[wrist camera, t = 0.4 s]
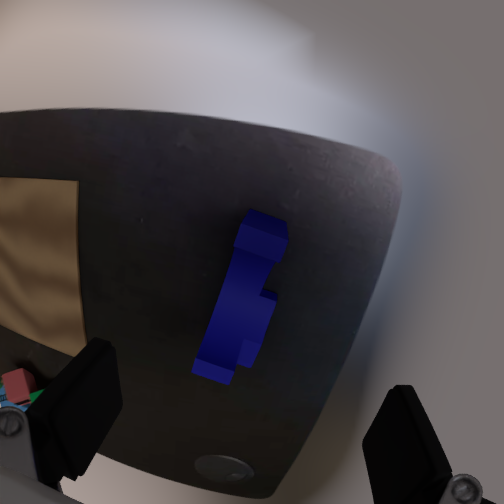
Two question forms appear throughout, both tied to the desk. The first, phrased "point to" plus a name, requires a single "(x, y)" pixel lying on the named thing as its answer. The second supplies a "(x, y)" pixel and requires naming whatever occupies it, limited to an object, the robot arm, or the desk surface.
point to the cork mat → (41, 262)
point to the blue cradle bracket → (243, 299)
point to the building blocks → (18, 389)
